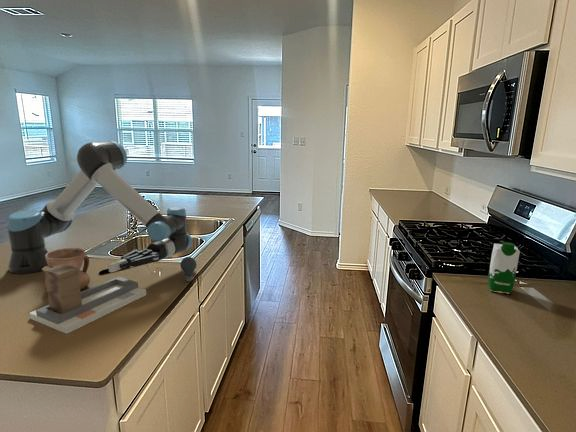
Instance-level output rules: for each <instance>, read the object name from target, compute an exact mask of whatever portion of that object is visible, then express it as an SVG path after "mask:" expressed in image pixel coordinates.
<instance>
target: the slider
mask: <svg viewBox="0 0 576 432" xmlns="http://www.w3.org/2000/svg"><path fill="white" fill-rule="evenodd" d="M44 276H45V281H46V285H47V289H46V290H47V291H46V292H47V298H48V299H47V301H48V305H49V308H50V310H51V311H53V312H56V313H59V314H63V313H65V312H67V311H70V310H72V309H74V308H77V307H79V306H81V305H82V300H81V292H82V291H81V290H80V282H79V273H78V268H76V267H72V266H69V265H66V264H62V265H59V266H56V267H52V268H49V269H46V270H45V271H44Z"/></svg>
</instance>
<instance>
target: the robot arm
mask: <svg viewBox="0 0 576 432" xmlns="http://www.w3.org/2000/svg"><path fill="white" fill-rule="evenodd" d="M127 161H128V156H127V151H126V149H125V148H124V146H123V145H121V144H120V143H119V142H117V141H111V140H106V141H96V142H95V141H94V142H88V143H85V144H83V145H82V146H81V147H80V148H79V149H78V151H77V153H76V162H77V165H78V167H79V168H80V170H79V171H78V173H76V175H75V176H74V177H73V179H72V180H71V181H70V182H69V183H68V184H67V186H66V187H65V188H64V189H63V190H62V192H61V193H60V194H59V195H58V196H57V197H56V199H54V200H50V201H48V202H47V203H46V204H45V205H44V207H43V208H42V209H41V210H39V209H25V210H19V211H16V212H13V213H12V214H9V216H8V217H7V218H6V222H7V224H6V225H7V226H6V227H7V233H8V237H9V243H10V248H11V253H10V257H9V261H8V265H7V266H8V270H9V271H8V272H10V273H11V274H18V275H19V274H21V275H22V274H32V273H37V272H41V271H43V270H42V269H43V268H44V267H45V266H49V265H48V264H47V261H46V258H45V255H46V254H47V253H49V251H48V250H47V247H46V243H45V239H46V238H48V237H51V236H54V235H56V234H59V233H63V232H65V231H67V230H68V229H69V228H71V226H72V225H73V222H74V218H75V217H74V216H75V214H74V213H75V211H76V210H77V209H78V207H80V205H81V204H82V203H83V202H84V201H85V199H86V198H87V197H88V196H89V195H90V194H91V193H92V192H93V190H94V189H95V188H96V187H97V186H98V185H100V186H101V188H102V189H104V190H105V191H106V192H107V193H109V195H111V196H112V197H113V198H114V199H115V200H116V202H118V203H119V204H120V205H121V206H122V207H124V208H125V209H126V210H127V211H128V212H129V213H130V214H131V215H132V216H133V217H134V218H135V219H137V220H138V221H139V222H140V223H141V224H142V225H143V226H144V227H145V228H146V233H147V235H148V237H149V239H150V240H152V241H153V242H151V243H149V244H148V246H147V247H146V248H143V249H141V250H138V249H137V248H134V249H133V250H132V251H130V252H128V253H125V254H124V255H122V256H120V260H117V261H114V262H112V263H109V264H108V265H107V266H108V269H109V272H110V273H114V272H117V270H118V271H121V270H120V269H122V268H125V267H127V266H128V268H130V267H132V268H137V267H139V266H141V267H142V266H144V265H147V264H152V263H157V262H160V261H161V260H164V259H167V258H169V257H172V256H174V255H177V254H179V253H183V252H185V251H187V250H189V249H190V248H191V247H192V245H193V239H192V237H191V234H189V233H188V232H187V212H186V211H187V210H186V209H185V207H182V206H170V207H169V208H167V210H166V216H163V214H161V212H159V211H158V210H157V208H155V207H154V206H153V205H152V204H151V203H150V202H149V201H148V200H147V199H145V198H144V197H143V196H142V195H141V194H140V192H138V191H137V190H136V189H135V188H134V187H132V185H131V184H130V183H128V182H127V181H126V180H125V179H124V178H123V177H122V176H121V175H120V174H119V173H118V172H117V171H116V170H119V169H122V168H123V167H124V166H125V165H126V164H127ZM122 270H123V269H122Z"/></svg>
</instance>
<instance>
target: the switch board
mask: <svg viewBox="0 0 576 432" xmlns="http://www.w3.org/2000/svg"><path fill="white" fill-rule="evenodd" d="M145 296H147V289H145V288H140V287H139V282H138V281H134V280H131V279H127V278H125V277H121V276H117V277H114V278H112V279H108V280H107V281H105V282H102V283H99V284H96V285H95V286H92V287H89V288H86V289H84V290H82V291H81V300H82V305H81V306H79V307H77V308H74V309H72V310H70V311H67V312H65V313H63V314H59V313H56V312H53V311H51V310H50V308H49V304H47V305H44V306H42V307H40V308H37V309H36V310H33V311H31V312H29V313H28V314H29V319H30V320H33V321H35V322H37V323H40V324H42V325H44V326H47V327H49V328H51V329H54V330H56V331H58V332H61V333H64V334H66V335H67V334H69V333H72V332H74V331H76V330H79V328H82V327H84V326H87V325H88V324H90V323H93V322H94V321H97V320H98V319H100V318H102V317H104V316H107V315H108V314H111V313H112V312H115V311H117V310H119V309H120V308H122V307H124V306H126V305H129V304H131V303H133V302H136V301H137V300H139V299H141V298H143V297H145Z"/></svg>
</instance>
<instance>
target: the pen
mask: <svg viewBox="0 0 576 432" xmlns="http://www.w3.org/2000/svg"><path fill="white" fill-rule="evenodd" d="M128 268H129V267H128V266H127V267H125V268H122V269H120V270H117V271H122V270H125V269H128ZM117 271H116V272H117ZM110 273H111V272H109V268H106V269H103V270H100V271H99V272H98V275H105V274H110Z"/></svg>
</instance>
